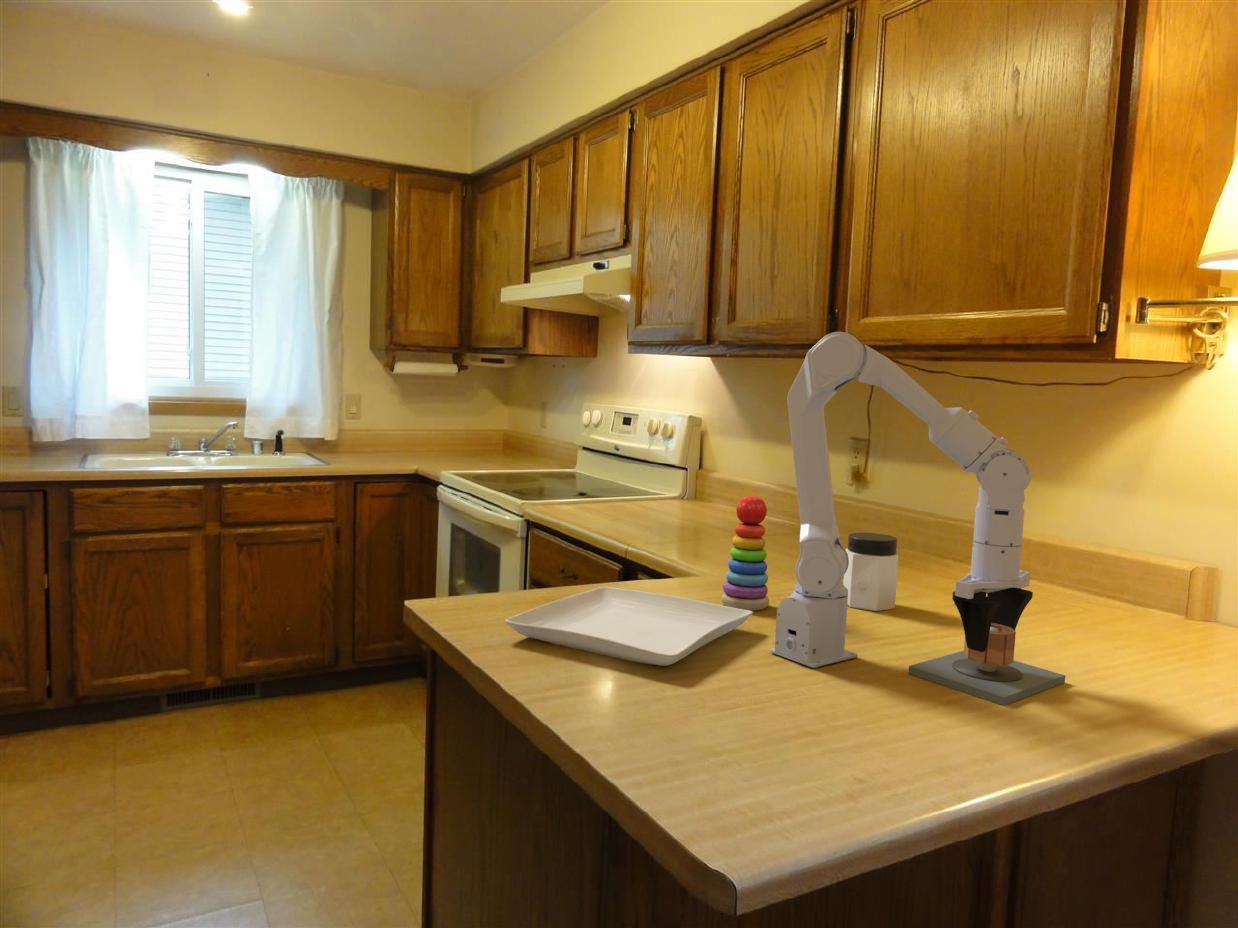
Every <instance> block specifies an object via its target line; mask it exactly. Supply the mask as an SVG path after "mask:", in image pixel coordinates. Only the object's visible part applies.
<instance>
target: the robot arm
mask: <svg viewBox="0 0 1238 928" xmlns="http://www.w3.org/2000/svg"><path fill="white" fill-rule="evenodd" d="M857 378H858V381H857V382H859V383H862V384H867V385H872V386H876V387H878V388H879V387H880V388H881V389H882V390H884V391H885V392H887V393H888V394H889V395H890V396H891V397H893V398H894V399H895V400H896V401H898V402H899V403H901V404H902V405H903V406H904V407H905V408H906V409H908V410H909V411H910V412H911V413H913V414H914V415H915V416H916V417H918V418H919V419H920V420H921V421H923V422H924V423H925V424H926V425H927V426H928V437H929V438H928V439H929V441H930V442H931V443H932V444H933V445H935V446H936V447H937V448H938V449H939V450H940V451H942V453H944V454H945V455H946V456H947V457H948V458H950V459H951V461H953V462H955V463H956V464H957V465H958V466H959V467H961V469H963V470H964V471H965V472H966V473H975V476H976V477H975V478H976V479H977V482H978V483H979V485H980V486H978V498H977V499H978V501H977V504H976V505H975V511H974V524H973V538H972V539H973V540H972V548H971V551H972V552H971V563H970V572H969V573H968V574H967V575H965V576H964V577H963V578H961V579H959V580H955V588H954V589H955V590H954V591H953V592H952V597H951V598H952V601H953V603H954V605H955V607H956V608H957V610H958V614H959V615H960V618H961V623H962V627H963V631H964V639H965V638H966V643H967V648H969V649H973V650H976V651H980V652H983V651H985V649H986V646H987V643H988V638H989V632H990V627H991V624H992V623H996V624H1000V625H1004V626H1008V627H1011V628H1012V629H1013V630H1014V631H1015V632H1016V630H1017V629H1016V628H1017V627H1018V623H1019V620H1020V618H1021V617H1022V614H1023V612H1024V610H1025V609H1026V608H1027V606H1028V604H1029V603H1030V602H1031V600H1032V599H1033V594H1034V592H1033V591H1032V590H1028V589H1025V588H1028V587H1030V580H1031V571H1026V570H1021V569H1020V568H1021V555H1022V544H1023V535H1024V534H1023V531H1024V521H1025V520H1024V519H1025V509H1024V504H1025V500H1026V496H1025V491H1026V490H1027V488H1028V487H1029V485H1030V483H1031V480H1032V475H1031V473H1030V468H1029V465H1028V463H1027V461H1026V460H1025V459H1024V457H1022V456H1021V455H1019V454H1018V453H1016V451H1015V450H1014V449H1012V448H1010V447H1009V448H1008V447H1006V446H1007V445H1008V444H1009V441H1008V440H1007V439H1006V438H1005V437H1003V436H1002V437H1000V438H999V437H998V436H996V434H994V433H993V432H992V431H991V430H989V429H988V428H987V427H985V425H983V424H982V423H980V421H978V419H979V418H980V415H979V414H977V413H976V412H975V411H974V410H971V409H970V410H969V411H967V410H966V409H964V408H963V407H961V406H960V407H959V406H958V407H956V406H955V407H945V406H943V404H941V402H939V401H938V400H937V399H936V398H934V396H932V395H931V394H930V393H929V392H928V391H926V389H924V388H923V387H922V386H921V385H920V384H918V382H916V381H915V380H914V379H913V378H912V377H911V376H910V375H908V373H907V372H906V371H904V370H903V369H902V368H901V367H899V366H898V364H896V363H895V362H894V361H893V360H891V359H890V358H889V357H887V356H885V355H883V354H881V353H880V352H878V351H877V350H875V349H874V348H872V347H870V346H869V345H867V344H864V345H863V343H862V342H861V341H859V340H858V338H856V337H855V336H854V335H852V334H850V333H848V332H843V331H834V332H830V333H828V334H826V335H824V336H823V337H822V338H821V339H820V340H818V341H817V343H815V345H814V346H812V347H811V349H809V350H808V351H807V352H806V355H805V358H804V361H803V363H802V365H801V367H800V369H799V371H798V373H797V375H796V376H795V379H794V380H793V383H792V385H791V386H790V389H789V390H788V393H787V398H786V399H787V401H786V403H787V411H788V421H789V428H790V429H789V430H790V437H791V446H792V448H791V449H792V456H793V465H794V466H793V467H794V474H795V475H794V476H795V483H796V493H797V503H798V512H799V521H800V530H799V540H798V541H799V556H798V559H797V562H796V564H795V569H794V570H795V572H794V573H795V577H796V580H797V582H795V584H794V589H793V592H792V593H791V594H790V595H789V596H787V597H785V598H783V599H782V600H781V601H780V602H779V604H778V607H777V609H776V622H775V639H774V641H775V642H774V647H771V648H769V652H770V653H772V654H774V655H777V656H780V657H782V658H785V659H788V660H791V661H794V662H796V663H799V664H801V665H804V666H807V667H809V668H813V669H815V668H818V667H823V666H826V665H830V664H834V663H839V662H843V661H847V660H850V659H853V658H858V655H859V654H858V652H855V651H852V650H849V649H846V648H845V647H846V646H845V645H846V633H847V631H846V630H847V616H848V605H847V602H848V589H847V588H846V587H845V586H844V585H843V583H844V574H845V573H846V571H847V569H848V565H849V558H848V554H847V552H846V548H845V547H844V546H843V544H842V541H841V539H840V531H839V528H838V524H837V519H836V513H835V511H836V510H835V502H834V494H833V493H834V492H833V491H834V490H833V483H832V475H831V465H830V456H829V446H828V445H829V444H828V438H827V437H828V436H827V427H826V419H825V418H826V417H825V409H824V408H825V406H826V405H827V404H828V403H829V402H830V400H831V399H832V398H833V397H834V396H835V395H836V393H837V392H838V391H839V390H840V389H841V388H842V387H844V386H846V385H847V384H850V383H851V382H852V381H854V380H856V379H857Z"/></svg>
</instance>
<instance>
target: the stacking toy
mask: <svg viewBox="0 0 1238 928" xmlns="http://www.w3.org/2000/svg"><path fill="white" fill-rule="evenodd" d="M767 509H768V508H767V505H766V503H765V501H764V500H763V499H762V498H761V497H759V496H756V495H746V496H744V497H742V498H741V499H740V500H739V501H738V502H737V504H736V509H735V510H736V511H735V513H736V516H737V518H738V519H739V521H740V522H739V523H738V524H736V525H735V526H734V527H735V528H734V532H735V534H736V535H734V536H733V537H732V539H731V542H732V545H733V547H732V548H731V549H730V556H731V557H732V558H730V559H729V560H728V569H729V570H727V572H726V574H725V578H726V580H727V581H725V582H724V583H723V585H722V591H723V592H724V593H722V594H721V603H722V604H723V606H728V607H733V608H738V609H744V610H749V611H752V612H754V611H755V612H756V611H761V610H764V609H766V608H767V607H769V604H770V599H769V597H768V595H767V594H768V592H769V588H768V586H767V582H768V580H769V576H768V574H767V573H766V572H767V570H768V564H767V563H766V561H765V560H766V559H767V551H766V550H765V549H764V548H765V546H766V540H765V539H764V538H763V536H765V534H766V528H765V526H763V525H762V524H761V523H762V522H763V521H764V520H765V518H766V517H767V513H768V512H767V511H768V510H767Z"/></svg>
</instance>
